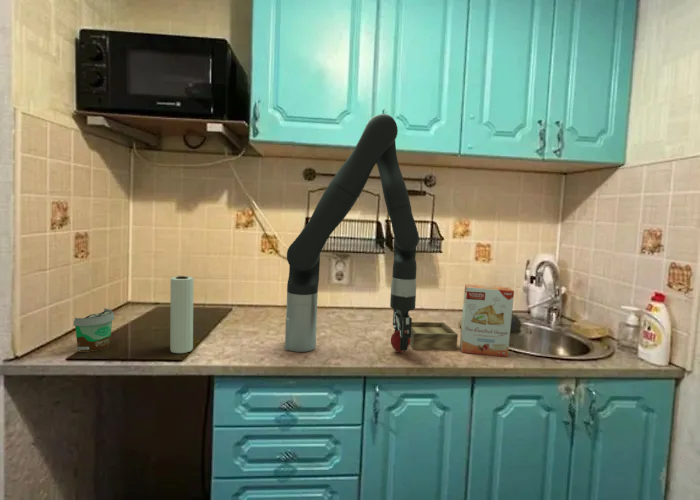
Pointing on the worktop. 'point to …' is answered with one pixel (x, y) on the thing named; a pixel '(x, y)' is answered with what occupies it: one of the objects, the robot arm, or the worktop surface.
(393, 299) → the robot arm
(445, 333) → the tray
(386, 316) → the worktop surface
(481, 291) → the cracker box
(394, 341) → the onion
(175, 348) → the paper towel roll
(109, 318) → the food container
